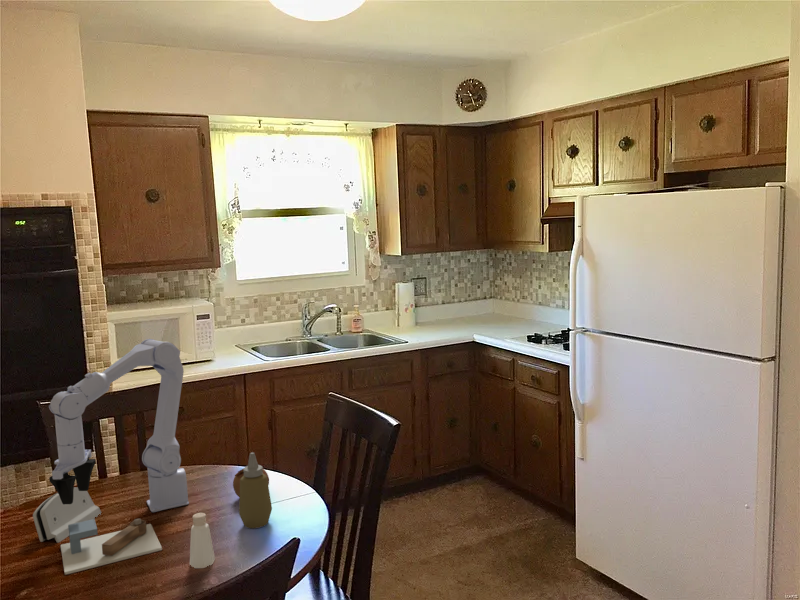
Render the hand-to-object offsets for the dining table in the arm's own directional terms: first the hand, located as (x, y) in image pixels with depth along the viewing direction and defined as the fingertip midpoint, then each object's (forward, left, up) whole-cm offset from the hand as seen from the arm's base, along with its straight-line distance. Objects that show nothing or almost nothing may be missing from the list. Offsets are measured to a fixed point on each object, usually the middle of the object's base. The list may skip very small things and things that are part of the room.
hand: (75, 496), depth 161 cm
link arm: (-9, +12, -9) cm, 17 cm away
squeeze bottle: (-38, +18, -10) cm, 43 cm away
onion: (-42, +2, -10) cm, 43 cm away
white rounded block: (+2, -7, -10) cm, 13 cm away
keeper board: (-6, +11, -10) cm, 16 cm away
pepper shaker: (-22, +30, -10) cm, 38 cm away
